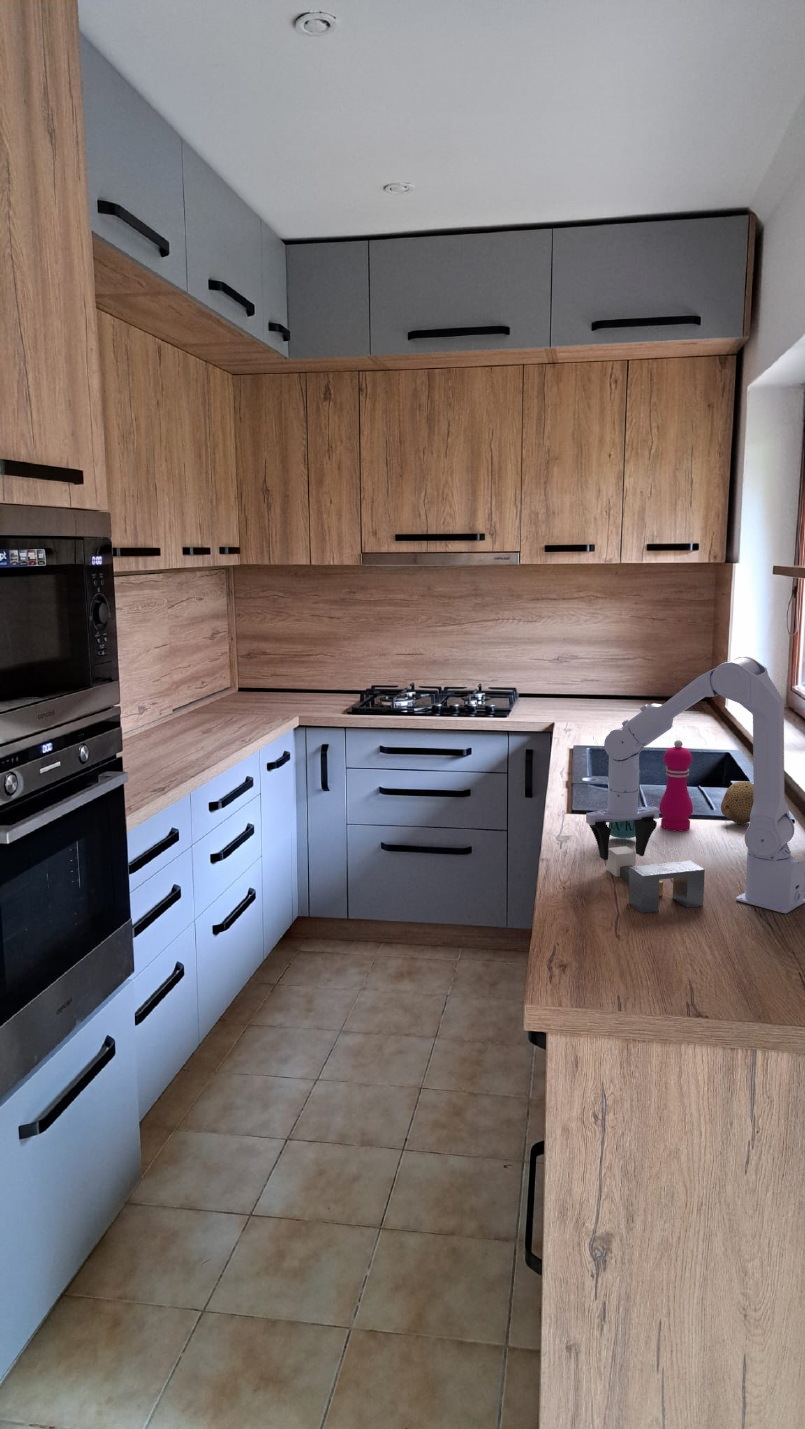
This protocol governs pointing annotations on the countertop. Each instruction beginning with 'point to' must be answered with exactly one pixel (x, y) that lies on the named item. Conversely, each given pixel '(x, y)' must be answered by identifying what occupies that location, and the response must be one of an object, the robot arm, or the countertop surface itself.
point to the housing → (683, 873)
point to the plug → (623, 863)
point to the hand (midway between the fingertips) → (622, 856)
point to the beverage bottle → (624, 825)
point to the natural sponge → (738, 802)
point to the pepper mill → (676, 790)
